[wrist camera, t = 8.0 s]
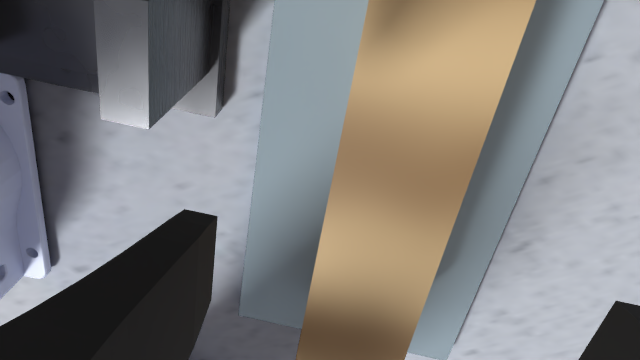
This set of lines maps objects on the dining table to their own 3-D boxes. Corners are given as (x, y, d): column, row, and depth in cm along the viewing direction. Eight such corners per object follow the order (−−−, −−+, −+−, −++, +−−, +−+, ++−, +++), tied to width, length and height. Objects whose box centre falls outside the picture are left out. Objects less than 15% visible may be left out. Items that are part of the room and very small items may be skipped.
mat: (445, 349, 22) (446, 361, 21) (241, 305, 22) (238, 315, 21) (696, -239, 12) (710, -244, 11) (314, -308, 12) (311, -317, 11)
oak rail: (394, 311, 20) (395, 384, 17) (309, 293, 20) (294, 362, 17) (551, -165, 12) (604, -186, 9) (408, -192, 12) (413, -221, 9)
